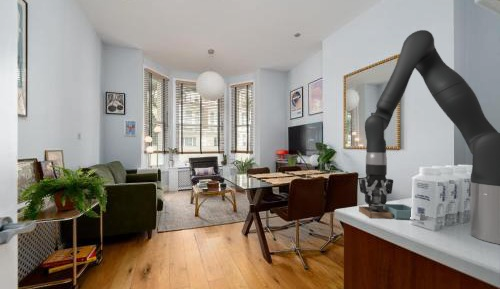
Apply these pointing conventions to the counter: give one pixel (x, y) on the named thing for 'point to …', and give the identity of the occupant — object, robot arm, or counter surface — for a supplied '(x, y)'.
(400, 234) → the counter surface
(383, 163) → the robot arm
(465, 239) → the counter surface
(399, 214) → the teal tray
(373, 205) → the salt shaker
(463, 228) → the counter surface
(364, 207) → the walnut socket
